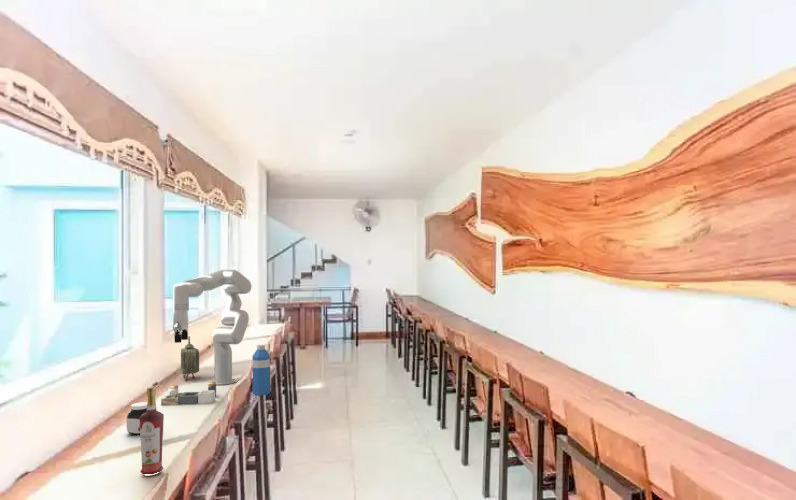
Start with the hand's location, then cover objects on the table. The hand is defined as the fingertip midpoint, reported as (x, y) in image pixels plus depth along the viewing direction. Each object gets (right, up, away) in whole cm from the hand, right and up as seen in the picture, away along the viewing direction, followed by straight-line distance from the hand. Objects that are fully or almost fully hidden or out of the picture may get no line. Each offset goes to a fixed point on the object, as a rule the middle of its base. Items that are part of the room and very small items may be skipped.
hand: (181, 341), depth 291 cm
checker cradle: (+9, -28, -12) cm, 32 cm away
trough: (+1, -28, -11) cm, 30 cm away
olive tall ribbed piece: (-11, -29, +42) cm, 53 cm away
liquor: (+31, -27, -105) cm, 113 cm away
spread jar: (+7, -28, -59) cm, 66 cm away
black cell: (+16, -28, -2) cm, 33 cm away
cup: (+17, -28, -13) cm, 35 cm away
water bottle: (+40, -28, +4) cm, 49 cm away
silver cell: (+1, -28, -11) cm, 30 cm away
